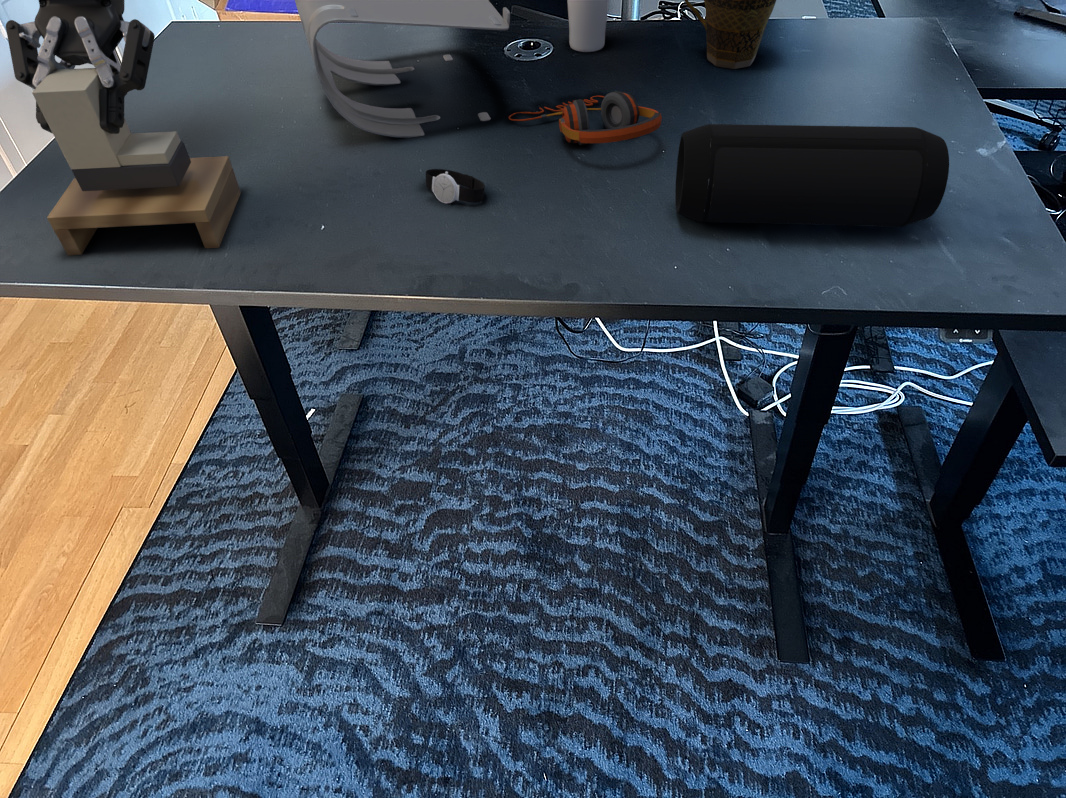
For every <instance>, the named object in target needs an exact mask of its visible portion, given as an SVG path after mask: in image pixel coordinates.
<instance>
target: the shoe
mask: <svg viewBox="0 0 1066 798" xmlns="http://www.w3.org/2000/svg"><path fill="white" fill-rule="evenodd" d="M100 89H104V86H103V85H102V83H101V80H100V78H99V75H98V73H97V70H96V68H95V67H87V68H86V67H84V68H74V69H62V70H53V72H52V73H51V74H49V75H48V76H46V77H45V79H44V80H43V81H42V82H41V83H40V84H39V85H38V86H37V87H36V89H33V91H32V92H31V94H32V95H33V98H34V100H35V103H36V102H37V104H38V106H39V108H40V109H41V111H42V113H43V115H44V117H45V119H46V121H47V123H48V125H49V127H50V129H51V131H52V133H53V134H52V133H51V134H52V135H53V137H54V139H55V141H56V143H57V144H58V147H59V149H60V151H61V152H62V155H63V156H64V159H65V160H66V162H67V165H68V166H69V168H70V170H71V172H72V174H73V176H74V178H76V180H77V182H78V184H79V186H80V188H81V190H82V191H98V190H118V189H138V188H157V187H177V186H179V185H180V183H181V181H182V179H183V177H184V175H185V173H186V171H187V169H188V167H189V165H190V163H191V160H190V158H191V157H190V155H189V152H188V150H187V147H186V145H185V142H184V141H183V140H181V139H180V136H179V134H178V131H176V130H175V131H172V130H171V131H156V132H155V131H153V132H136V133H135V132H134V133H133V132H132V131H131V129H130V127H129V125H128V122H127V120H126V118H125V117H124V125H123V127H122V128H120V132H119V134H110V133H108V132H106V131H105V130H102V129H101V127H100V124H99V122H100V115H99V107H100Z"/></svg>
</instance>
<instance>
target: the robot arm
mask: <svg viewBox="0 0 1066 798" xmlns="http://www.w3.org/2000/svg"><path fill="white" fill-rule="evenodd" d="M38 4H39V8H38V11H37V13H36V15H35V17H34V21H30V22H25V23H19V22H18V21H16V20H13V19H10V20H8V21H7V22H6V23H5V31H6V36H7V37H6V38H7V41H8V48H9V53H10V58H11V63H12V64H11V65H12V68H13V75H14V78H15V80H17V81H18V82H19V83H22V84H24V85H26V86H27V87H29V88H30V89H33V90H35V89H36V87H37V86H38V85H39V84H40V83H41V82H42V81H43V80H44V79H45V77H46V76H48V75H49V74H51V73H52V72H53V70H62V69H76V66H83V65H86V64H88V65H92V66H93V68H96V70H97V73H98V75H99V78H100V80H101V83H102V85H103V86H104V89H100V107H99V115H100V122H99V124H100V127H101V129H102V130H105V131H106V132H108V133H110V134H119V132H120V128H122V127H123V125H124V118H125V97H126V96H127V95H128V93H129V92H131V91H134V90H136V91H142V90H145V87H146V83H147V78H148V74H149V67H150V64H151V63H150V62H151V59H152V58H151V57H152V53H153V47H154V43H155V37H156V36H155V33H154V32H153V31H152V30H151V29H150V28H149V27H147V26H146V25H145V24H144V23H142V22H141V21H140V20H139V19H136V18H134V19H131V20H130V21H126V20H125V19H124V17H123V15H124V13H125V0H38ZM41 37H42V39H43V41H42V43H41V42H40V38H41ZM122 40H123V42H124V46H123V51H122V52H123V53H122V56H121V62H120V60H119V57H118V55H117V53H116V49H117V47H118V46H119V44H120V43H121V41H122ZM38 49H39V50H38ZM56 57H57V58H58V59H60V61H59V62H58V61H57V60H56ZM35 119H36V122H37V124H39V127H40V128H41V129H42V130H43V131H46V132H48V133H50V134H52V135H53V133H52V131H51V129H50V127H49V125H48V123H47V121H46V119H45V117H44V115H43V113H42V111H41V109H40V108H39V106H38V104H37V102H36V101H35Z"/></svg>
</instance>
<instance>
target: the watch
mask: <svg viewBox="0 0 1066 798" xmlns="http://www.w3.org/2000/svg"><path fill="white" fill-rule="evenodd" d="M425 186H426V188H427V189H428V190H430V191H432V192H433V194H434V196H435V198H436V199H437V200H438V202H441V203H444V204H451V203H453V202H455V201H458V202H459V201H461V202H465V203H471V204H472V203H473V204H476V203H481V202H482V201H484V195H485V187H486V186H485V183H484V182H482V181H481V180H479V179H477V178H475V177H474V176H472V175H469V174H465V173H462V172H458V171H455V170H450V169H443V168H431V169H427V170H426V171H425Z"/></svg>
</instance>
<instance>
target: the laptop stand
mask: <svg viewBox="0 0 1066 798" xmlns="http://www.w3.org/2000/svg"><path fill="white" fill-rule="evenodd" d="M294 2H295V6H296V9H297V13H298V16H299V19H300V23H301V26H302V29H303V32H304V35H305V38H306V41H307V46H308V48H309V51H310V55H311V58H312V61H313V65H314V67H315V71H316V74H317V77H318V80H319V83H320V85H321V88H322V90H323V92H324V94H325V96H326V98H327V99H328V102H329V103H330V104H331V105H332V107H333V109H335V111H336V112H338V114H339V115H340V116H341V117H343V118H344V119H345V120H346V121H347V122H349V123H350V124H351V125H353V126H354V127H356V128H357V129H359V130H362V131H364V132H367V133H371V134H375V135H379V136H385V137H390V138H407V139H409V138H416V137H422V136H425V132H424V130H423V128H422V127H421V125H420V124H424V123H430V122H435V121H439V120H440V119H441V116H440V115H437V114H434V115H427V116H421V117H417V116H416V114H415V112H414V110H413V108H411V107H404V108H401V107H400V108H397V107H396V108H392V107H391V108H390V107H380V106H374V105H370V104H366V103H363V102H358V101H356V100H353V99H352V98H351V99H350V98H349V97H348V96H346V95H345V94H344V93H342V92H341V91H340V90H339V89H338V88H337V86H336V83H335V80H334V77H333V75H335V76H336V77H338V78H340V79H344V80H346V81H348V82H353V83H356V84H357V83H358V84H362V85H367V86H368V85H369V86H374V87H375V86H379V87H381V86H382V87H383V86H385V87H386V86H387V87H388V86H392V85H393V86H394V85H398V84H401V80H400V78H399V77H398V76H397V75H396V74H401V73H408V72H412V71H414V70H415V67H414V66H404V67H398V68H393V67H392V65H391V62H390V61H389V60H378V61H377V60H361V59H356V58H355V59H354V58H351V57H346V56H343V55H339V54H337V53H334V52H333V51H331V50H329V49H328V48H326V46H324V45H323V44H322V43H321V42H320V41H319V40H318V39H317V35H318V33H319V31H320V30H321V29H322V28H323V27H324V26H327V25H329V24H332V23H355V24H373V25H392V26H393V25H394V26H411V27H429V28H430V27H432V28H449V29H451V28H452V29H469V30H485V31H486V30H487V31H488V30H489V31H508V30H509V29H510V22H511V12H510V10H509V9H508V8H507V7H506V6H505V7H503V8H502V15H501V14H500V13H499V12H498V10H497V9H496V8H495V6H494V5H493V4H492V3H491V1H490V0H294ZM442 57H443V59H444V60H445V62H450V61H453V60H454V57H452V55H451V54H444V55H442ZM477 117H478V119H479V120H480V121H481V122H487V121H490V120H491V119H492V118H491V117H490V115H489V113H488V112H486V111H483V112H479V113H477Z"/></svg>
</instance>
